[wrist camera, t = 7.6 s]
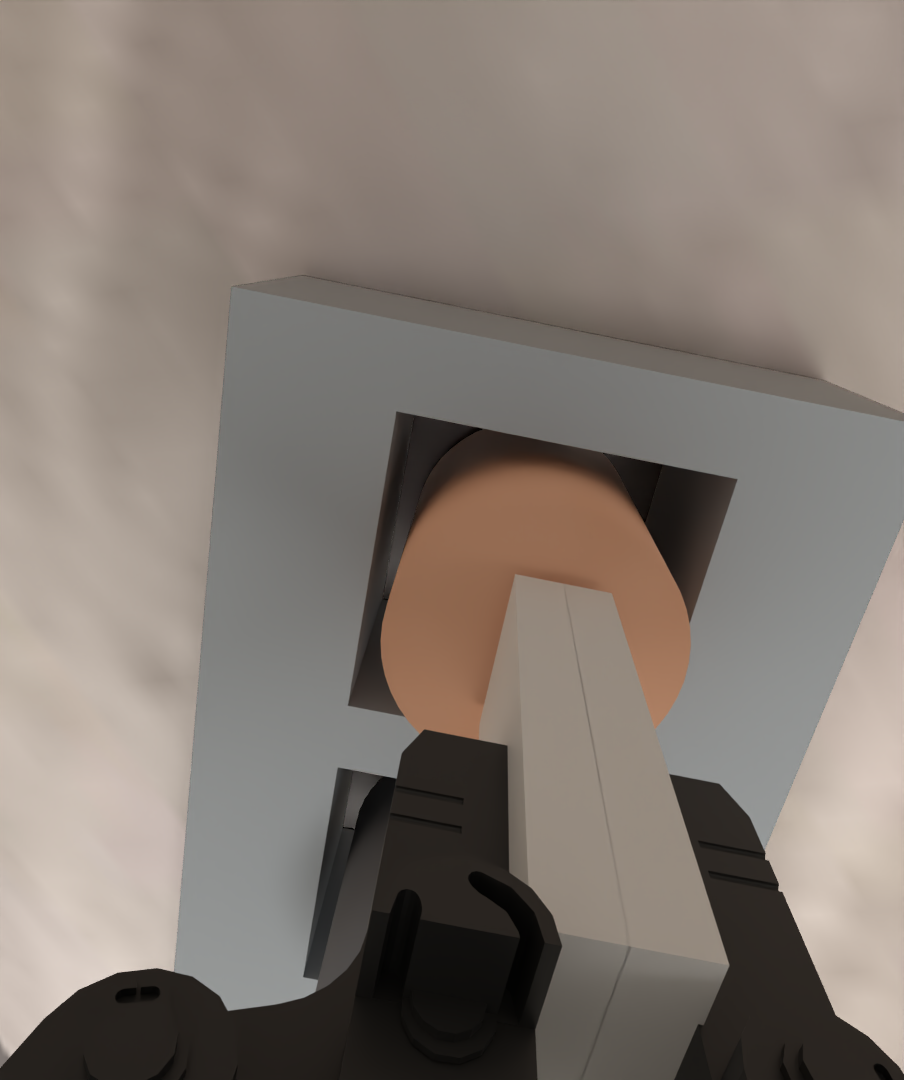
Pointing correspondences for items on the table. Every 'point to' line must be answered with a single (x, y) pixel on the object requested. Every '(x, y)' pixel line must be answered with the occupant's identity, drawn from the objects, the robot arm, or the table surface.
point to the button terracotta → (520, 573)
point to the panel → (364, 550)
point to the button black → (358, 883)
